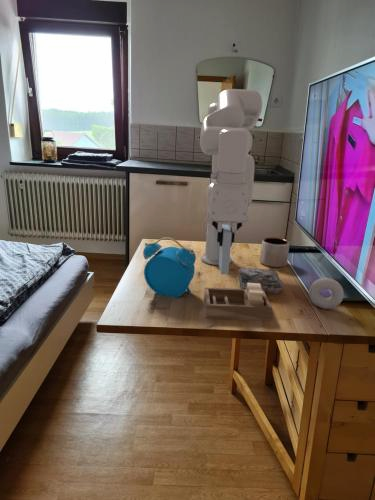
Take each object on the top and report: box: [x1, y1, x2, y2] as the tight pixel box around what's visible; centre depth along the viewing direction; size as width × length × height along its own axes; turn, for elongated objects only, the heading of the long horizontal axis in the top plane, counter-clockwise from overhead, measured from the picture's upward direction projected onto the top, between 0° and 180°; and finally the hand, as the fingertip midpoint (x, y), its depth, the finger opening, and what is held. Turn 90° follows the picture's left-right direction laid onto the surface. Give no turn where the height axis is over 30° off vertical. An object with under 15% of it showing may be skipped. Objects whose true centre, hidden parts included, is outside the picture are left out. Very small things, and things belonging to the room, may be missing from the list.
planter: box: [259, 236, 291, 269], centre depth 153 cm, size 11×11×10 cm
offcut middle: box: [244, 290, 264, 306], centre depth 111 cm, size 8×4×2 cm, turn 3°
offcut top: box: [247, 283, 263, 301], centre depth 110 cm, size 7×4×2 cm, turn 176°
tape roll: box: [308, 277, 345, 310], centre depth 116 cm, size 10×4×10 cm, turn 71°
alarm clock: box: [142, 236, 197, 298], centre depth 119 cm, size 17×10×20 cm, turn 71°
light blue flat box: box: [218, 224, 232, 276], centre depth 106 cm, size 8×2×12 cm, turn 0°
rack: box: [203, 287, 273, 322], centre depth 112 cm, size 12×18×5 cm, turn 90°
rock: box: [237, 267, 285, 295], centre depth 126 cm, size 16×8×10 cm, turn 73°
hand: (225, 244), depth 106 cm, fingers closed on light blue flat box, 2 cm apart
